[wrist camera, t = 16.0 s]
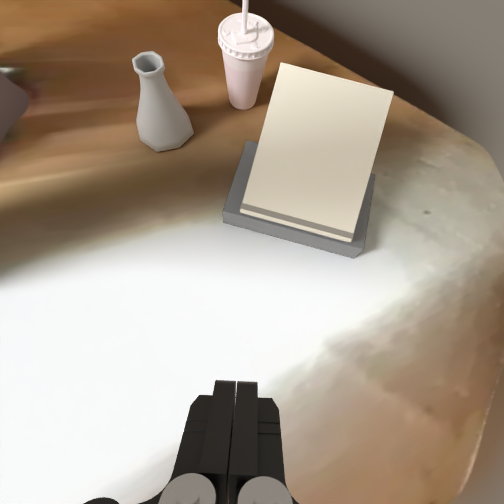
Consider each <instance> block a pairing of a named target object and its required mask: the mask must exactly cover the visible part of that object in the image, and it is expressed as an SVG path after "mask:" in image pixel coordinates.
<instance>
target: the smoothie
mask: <svg viewBox="0 0 504 504" xmlns="http://www.w3.org/2000/svg"><path fill="white" fill-rule="evenodd" d="M218 42H219V45H220V47H221V48H222V53H223V59H224V66H225V73H226V80H227V86H228V93H229V100H230V103H231V104H232V105H233V106H234V107H235V108H237V109H242V110H245V109H249V108H251V107H253V106H254V104H255V102H256V98H257V94H258V91H259V87H260V83H261V79H262V75H263V72H264V68H265V64H266V60H267V57H268V53H269V52H270V51H271V49H272V47H273V43H274V31H273V28H272V26H271V25H270V24H269V23H268V21H266V20H265V19H264V18H262V17H260V16H257V15H255V14H251V13H248V0H243V8H242V13H237V14H233V15H230V16H228V17H227V18H225V19H224V20H223V21H222V22H221V23H220V25H219V28H218Z"/></svg>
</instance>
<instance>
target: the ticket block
mask: <svg viewBox="0 0 504 504" xmlns="http://www.w3.org/2000/svg"><path fill="white" fill-rule="evenodd" d="M258 144H259V143H256V142H252V141H248V140H247V141H246V144H245V147H244V150H243V153H242V156H241V159H240V162H239V165H238V168H237V171H236V174H235V177H234V180H233V183H232V186H231V188H230V191H229V194H228V197H227V200H226V203H225V206H224V209H223V223H227V224H231V225H234V226H238V227H242V228H245V229H249V230H252V231H256V232H260V233H263V234H267V235H271V236H274V237H278V238H281V239H285V240H289V241H292V242H296V243H299V244H303V245H307V246H310V247H314V248H318V249H321V250H325V251H328V252H332V253H336V254H339V255H343V256H347V257H350V258H355V257H356V256H357V255H358V254H359V253H360V252H361V251H363V250H364V244H365V237H366V231H367V224H368V218H369V212H370V205H371V199H372V193H373V186H374V180H375V174H371V173H370V177H369V180H368V184H367V187H366V191H365V194H364V198H363V201H362V205H361V208H360V212H359V215H358V219H357V223H356V226H355V230H354V235H353V239H352V240H351V242H345V241H342V240H338V239H334V238H331V237H327V236H323V235H320V234H316V233H313V232H309V231H305V230H302V229H298V228H294V227H291V226H287V225H283V224H280V223H276V222H273V221H269V220H265V219H262V218H258V217H254V216H251V215H247V214H243V213H241V212H240V207H241V203H242V202H243V198H244V195H245V191H246V187H247V184H248V180H249V176H250V173H251V169H252V166H253V162H254V158H255V155H256V151H257V147H258Z"/></svg>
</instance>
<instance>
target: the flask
mask: <svg viewBox="0 0 504 504" xmlns="http://www.w3.org/2000/svg"><path fill="white" fill-rule="evenodd" d="M132 61H133V65H134V70H135V72H136V73H138V74H139V77H140V84H141V93H140V102H139V108H138V114H137V120H136V124H137V128H138V133H139V137H140V140H141V141H142V142H144V143H145V144H146V145H148V146H149V147H151V148H152V149H153V150H155V151H156V152H160V151H165V150H170V149H175V148H180V147H181V146H182V145H183V144H184V143H185V142H186V141H187V140H188V139H189V138H190V137H191V136H192V135H193V134H194V132H193V129H192V125H191V122H190V118H189V116H188V114H187V113H186V111H185V110H184V109H183V107H182V106H181V105H180V103H179V102H178V100H177V99H176V97H175V96H174V94H173V93H172V91H171V90H170V88H169V87H168V84H167V82H166V80H165V77H164V74H163V71H164V70H165V66H164V62H163V59H162V56H160V55H158V54H157V53H155V52H154V51H149V52H142V53H140V54H138V55H137V56H136V57H134V58H133V59H132Z"/></svg>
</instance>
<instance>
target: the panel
mask: <svg viewBox="0 0 504 504" xmlns="http://www.w3.org/2000/svg"><path fill="white" fill-rule="evenodd" d="M392 96H393V91H388V90H385V89H381V88H377V87H374V86H370V85H366V84H362V83H358V82H355V81H351V80H347V79H343V78H339V77H335V76H332V75H328V74H324V73H320V72H316V71H312V70H309V69H305V68H301V67H297V66H293V65H289V64H286V63H282V62H281V64H280V68H279V71H278V75H277V78H276V82H275V86H274V89H273V93H272V97H271V100H270V104H269V108H268V111H267V115H266V118H265V122H264V126H263V129H262V133H261V137H260V140H259V144H258V147H257V151H256V155H255V158H254V162H253V166H252V169H251V173H250V176H249V180H248V184H247V187H246V191H245V195H244V198H243V202H242V203H241V207H240V212H241V213H243V214H247V215H251V216H254V217H258V218H262V219H265V220H269V221H273V222H276V223H280V224H283V225H287V226H291V227H294V228H298V229H302V230H305V231H309V232H313V233H316V234H320V235H323V236H327V237H331V238H334V239H338V240H342V241H345V242H351V240H352V239H353V235H354V230H355V226H356V223H357V219H358V215H359V212H360V208H361V205H362V201H363V198H364V194H365V191H366V187H367V184H368V180H369V177H370V173H371V170H372V166H373V163H374V159H375V156H376V152H377V149H378V145H379V142H380V138H381V135H382V131H383V128H384V124H385V121H386V117H387V113H388V110H389V106H390V103H391V99H392Z"/></svg>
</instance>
